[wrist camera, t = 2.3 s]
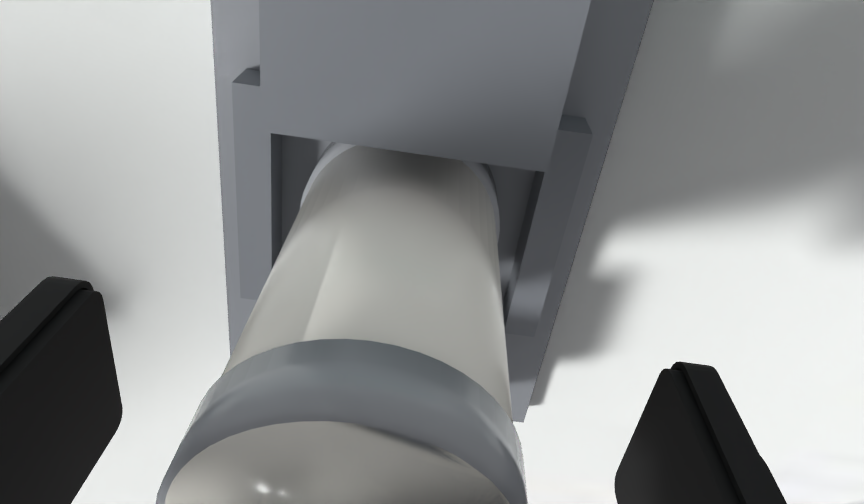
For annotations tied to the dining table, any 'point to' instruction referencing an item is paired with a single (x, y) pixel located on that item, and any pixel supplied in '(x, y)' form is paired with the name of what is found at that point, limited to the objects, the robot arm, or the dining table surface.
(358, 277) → the cylinder
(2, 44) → the dining table surface
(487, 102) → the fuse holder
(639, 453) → the robot arm
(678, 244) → the dining table surface
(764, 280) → the dining table surface
